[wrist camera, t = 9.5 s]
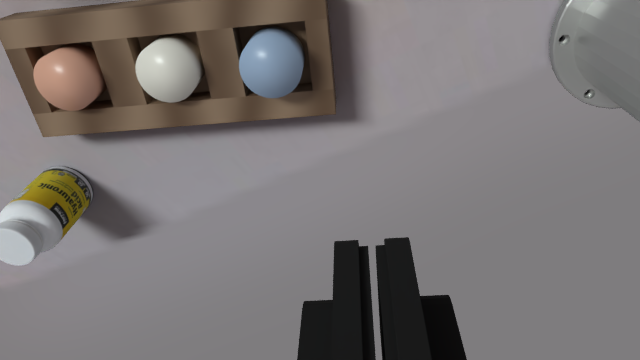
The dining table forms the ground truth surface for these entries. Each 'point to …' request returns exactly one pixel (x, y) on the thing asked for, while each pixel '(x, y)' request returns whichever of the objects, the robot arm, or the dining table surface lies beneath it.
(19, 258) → the supplement bottle
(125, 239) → the dining table surface
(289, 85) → the blue rounded knob
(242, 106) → the wooden compartment tray
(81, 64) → the pink rounded dome
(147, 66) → the cream button
